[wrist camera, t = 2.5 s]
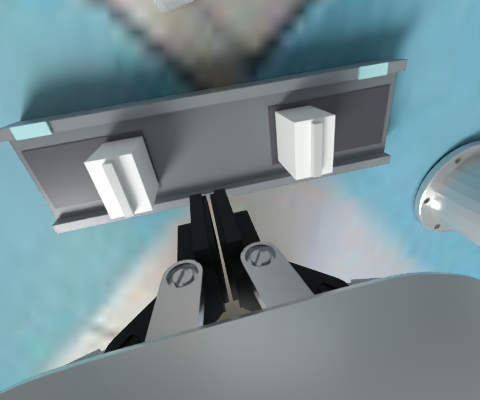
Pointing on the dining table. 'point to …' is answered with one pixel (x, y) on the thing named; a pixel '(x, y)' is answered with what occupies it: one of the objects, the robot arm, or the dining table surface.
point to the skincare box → (171, 4)
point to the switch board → (206, 138)
